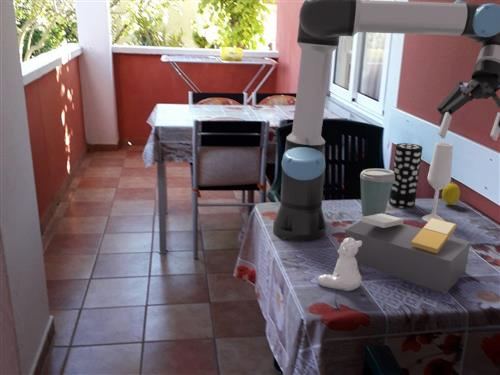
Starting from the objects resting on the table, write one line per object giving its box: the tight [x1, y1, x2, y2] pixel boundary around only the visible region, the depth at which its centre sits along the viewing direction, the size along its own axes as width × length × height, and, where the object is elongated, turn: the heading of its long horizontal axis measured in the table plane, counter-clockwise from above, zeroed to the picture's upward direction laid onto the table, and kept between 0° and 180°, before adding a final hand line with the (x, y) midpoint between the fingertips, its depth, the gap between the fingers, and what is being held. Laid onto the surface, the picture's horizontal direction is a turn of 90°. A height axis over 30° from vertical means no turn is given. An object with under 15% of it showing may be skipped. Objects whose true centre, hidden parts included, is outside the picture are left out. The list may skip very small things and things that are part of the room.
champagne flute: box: [421, 141, 454, 223], centre depth 150 cm, size 7×7×24 cm
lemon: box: [441, 181, 461, 206], centre depth 166 cm, size 6×6×8 cm
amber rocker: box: [411, 218, 457, 253], centre depth 116 cm, size 12×6×1 cm, turn 140°
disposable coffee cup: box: [359, 168, 395, 217], centre depth 153 cm, size 11×11×15 cm
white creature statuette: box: [317, 237, 363, 292], centre depth 112 cm, size 10×9×12 cm
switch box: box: [344, 220, 471, 295], centre depth 122 cm, size 14×26×8 cm, turn 50°
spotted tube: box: [388, 142, 423, 209], centre depth 164 cm, size 8×8×20 cm
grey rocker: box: [360, 213, 405, 228], centre depth 124 cm, size 12×6×1 cm, turn 140°
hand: (466, 137), depth 127 cm, fingers open, 13 cm apart
